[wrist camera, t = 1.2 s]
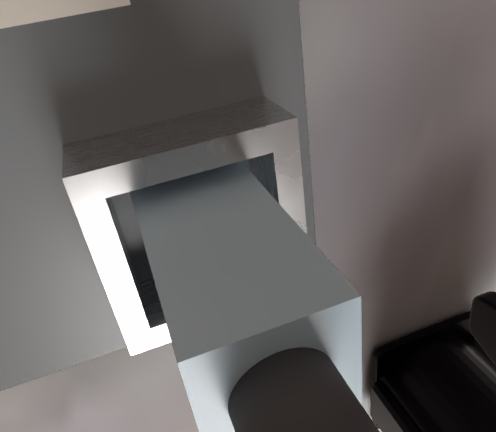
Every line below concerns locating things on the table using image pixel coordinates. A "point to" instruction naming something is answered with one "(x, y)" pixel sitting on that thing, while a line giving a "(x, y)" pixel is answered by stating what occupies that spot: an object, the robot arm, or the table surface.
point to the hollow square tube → (165, 169)
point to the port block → (49, 9)
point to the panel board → (107, 121)
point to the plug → (252, 308)
